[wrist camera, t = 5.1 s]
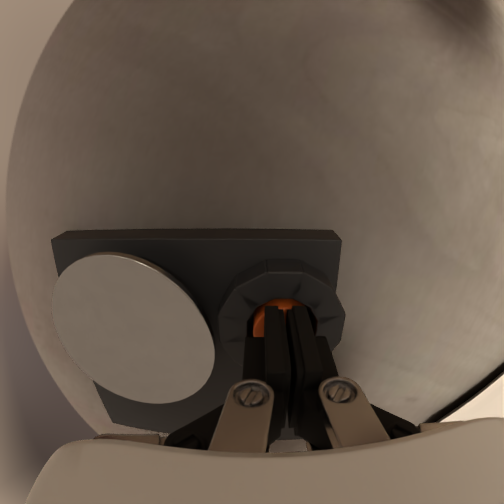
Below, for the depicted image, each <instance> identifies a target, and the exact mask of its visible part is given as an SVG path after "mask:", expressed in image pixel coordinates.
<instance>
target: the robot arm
mask: <svg viewBox="0 0 504 504" xmlns="http://www.w3.org/2000/svg"><path fill="white" fill-rule="evenodd" d="M286 415H288V426H289V428H294V435H295V436H300V437H301V438H303V439H304V440H306V448H307V451H304V452H283V453H269V450H270V444H272V443H273V442H274V441H275V440H277V439H278V438H279V437H280V436H281V429H284V428H285V422H286ZM25 504H504V418H501V417H485V418H476V419H472V420H467V421H451V422H438V423H420V424H419V425H418V426H415V425H414V424H412V423H410V422H409V421H406V420H404V419H402V418H400V417H398V416H395V415H393V414H391V413H389V412H387V411H385V410H383V409H380V408H378V407H376V406H374V405H372V404H370V403H369V401H368V400H367V398H366V396H365V394H364V393H363V391H362V389H361V388H360V386H359V385H358V384H357V383H356V382H355V381H353V380H352V379H349V378H346V377H340V376H338V372H337V369H336V366H335V363H334V360H333V356H332V353H331V350H330V347H329V344H328V341H327V338H326V337H325V336H314V333H313V329H312V325H311V322H310V318H309V314H308V311H307V307H306V306H292V309H287V317H286V325H285V318H284V310H283V309H278V306H265V309H264V337H245V347H244V361H243V374H242V380H241V381H239V382H236V383H235V384H234V385H232V386H231V388H230V389H229V391H228V394H227V397H226V400H225V403H224V404H222V405H221V406H219V407H217V408H215V409H214V410H212V411H210V412H209V413H207V414H205V415H203V416H202V417H200V418H198V419H196V420H194V421H193V422H191V423H189V424H187V425H185V426H183V427H182V428H180V429H178V430H176V431H174V432H173V433H171V434H170V435H168V437H160V436H159V434H101V435H99V436H97V437H95V438H94V439H91V440H90V439H88V440H80V441H74V442H70V443H68V444H65V445H63V446H62V447H60V448H59V449H58V450H57V451H56V452H54V454H53V455H52V456H51V457H50V459H49V460H48V461H47V463H46V464H45V466H44V467H43V469H42V471H41V473H40V474H39V476H38V478H37V479H36V481H35V483H34V485H33V488H32V489H31V491H30V493H29V495H28V497H27V500H26V502H25Z"/></svg>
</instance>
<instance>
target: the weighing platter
mask: <svg viewBox="0 0 504 504" xmlns="http://www.w3.org/2000/svg"><path fill="white" fill-rule="evenodd" d="M51 306H52V317H53V322H54V326H55V329H56V332H57V335H58V337H59V339H60V341H61V343H62V345H63V347H64V349H65V350H66V352H67V353H68V355H69V356H70V358H71V359H72V360H73V361H74V362H75V364H76V365H77V366H78V367H79V368H80V369H81V370H82V371H83V372H84V373H85V374H86V375H87V376H89V377H90V378H91V379H92V380H94V381H95V382H96V383H98V384H99V385H101V386H102V387H104V388H105V389H107V390H109V391H111V392H113V393H115V394H117V395H120V396H122V397H124V398H128V399H131V400H134V401H139V402H144V403H152V404H163V403H171V402H176V401H180V400H182V399H185V398H187V397H189V396H191V395H193V394H195V393H196V392H197V391H198V390H200V389H201V388H202V387H203V385H204V384H205V383H206V382H207V380H208V379H209V377H210V375H211V372H212V370H213V367H214V361H215V356H216V344H215V337H214V333H213V330H212V327H211V324H210V322H209V320H208V317H207V315H206V313H205V312H204V310H203V308H202V307H201V305H200V304H199V302H198V301H197V300H196V298H195V297H194V296H193V295H192V294H191V292H190V291H189V290H188V289H187V288H186V287H185V286H184V285H183V284H182V283H181V282H180V281H178V280H177V279H176V278H175V277H173V276H172V275H171V274H170V273H168V272H166V271H165V270H163V269H162V268H160V267H159V266H157V265H155V264H153V263H151V262H149V261H147V260H145V259H142V258H139V257H136V256H133V255H129V254H125V253H119V252H98V253H93V254H89V255H86V256H84V257H82V258H79V259H78V260H76V261H75V262H74V263H72V264H71V265H69V266H68V267H67V268H66V269H65V270H64V271H63V272H62V274H61V275H60V277H59V278H58V280H57V282H56V284H55V287H54V291H53V295H52V304H51Z"/></svg>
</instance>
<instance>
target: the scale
mask: <svg viewBox="0 0 504 504" xmlns="http://www.w3.org/2000/svg"><path fill="white" fill-rule="evenodd" d="M51 243H52V249H53V254H54V259H55V263H56V268H57V272H58V276H59V277H60V275H61V274H62V272H63V271H64V270H65V269H66V268H67V267H68V266H69V265H71V264H72V263H74V262H75V261H76V260H78V259H79V258H82V257H84V256H86V255H89V254H93V253H98V252H119V253H125V254H129V255H133V256H136V257H139V258H142V259H145V260H147V261H149V262H151V263H153V264H155V265H157V266H159V267H160V268H162V269H163V270H165V271H166V272H168V273H170V274H171V275H172V276H173V277H175V278H176V279H177V280H178V281H180V282H181V283H182V284H183V285H184V286H185V287H186V288H187V289H188V290H189V291H190V292H191V294H192V295H193V296H194V297H195V298H196V300H197V301H198V302H199V304H200V305H201V307H202V308H203V310H204V312H205V313H206V315H207V317H208V320H209V322H210V324H211V327H212V330H213V333H214V337H215V344H216V356H215V361H214V367H213V370H212V372H211V375H210V377H209V379H208V380H207V382H206V383H205V384H204V385H203V387H202V388H201V389H200V390H198V391H197V392H196V393H195V394H193V395H191V396H189V397H187V398H185V399H182V400H180V401H176V402H171V403H163V404H152V403H144V402H139V401H134V400H131V399H128V398H124V397H122V396H120V395H117V394H115V393H113V392H111V391H109V390H107V389H105V388H104V387H102V386H101V385H99V384H98V383H96V382H95V381H94V380H93V382H94V384H95V387H96V389H97V391H98V393H99V396H100V398H101V400H102V402H103V404H104V406H105V408H106V410H107V412H108V414H109V416H110V418H111V420H112V422H113V423H116V424H121V425H125V426H130V427H135V428H140V429H145V430H151V431H157V432H163V433H170V434H171V433H173V432H174V431H176V430H178V429H180V428H182V427H183V426H185V425H187V424H189V423H191V422H193V421H194V420H196V419H198V418H200V417H202V416H203V415H205V414H207V413H209V412H210V411H212V410H214V409H215V408H217V407H219V406H221V405H222V404H224V403H225V400H226V397H227V394H228V391H229V389H230V388H231V386H232V385H234V384H235V383H236V382H239V381H241V380H242V374H243V361H244V347H245V337H254V336H253V319H254V311H255V309H256V308H257V307H258V306H261V305H263V304H265V303H267V302H269V301H271V300H273V299H294V300H296V301H298V302H300V303H302V304H304V305H305V306H306V307H307V311H308V314H309V318H310V322H311V325H312V329H313V333H314V336H325V337H326V338H327V341H328V344H329V347H330V350H331V351H332V350H333V349H334V348H335V347H336V346H337V345H338V343H339V342H340V341H341V336H342V331H343V326H344V321H345V311H344V309H343V307H342V305H341V303H340V301H339V299H338V297H337V295H336V287H337V279H338V270H339V262H340V253H341V243H342V240H341V239H340V238H339V237H338V235H337V234H336V233H335V232H334V231H333V230H306V229H125V230H83V231H66V232H64V233H62V234H60V235H58V236H57V237H55V238H53V239H51ZM292 439H303V438H301V437H300V436H295V435H294V428H289V426H288V415H286V422H285V428H284V429H281V436H280V437H279V438H278V439H277V440H292Z"/></svg>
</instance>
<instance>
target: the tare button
mask: <svg viewBox="0 0 504 504" xmlns="http://www.w3.org/2000/svg"><path fill="white" fill-rule="evenodd" d="M265 306H278V309H283V310H284V318H285V325H286V317H287V309H292V306H305V305H304V304H302V303H300V302H298V301H296V300H294V299H273V300H271V301H269V302H267V303H265V304H263V305H261V306H258V307H257V308H256V309H255V311H254V319H253V336H254V337H264V309H265Z"/></svg>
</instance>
